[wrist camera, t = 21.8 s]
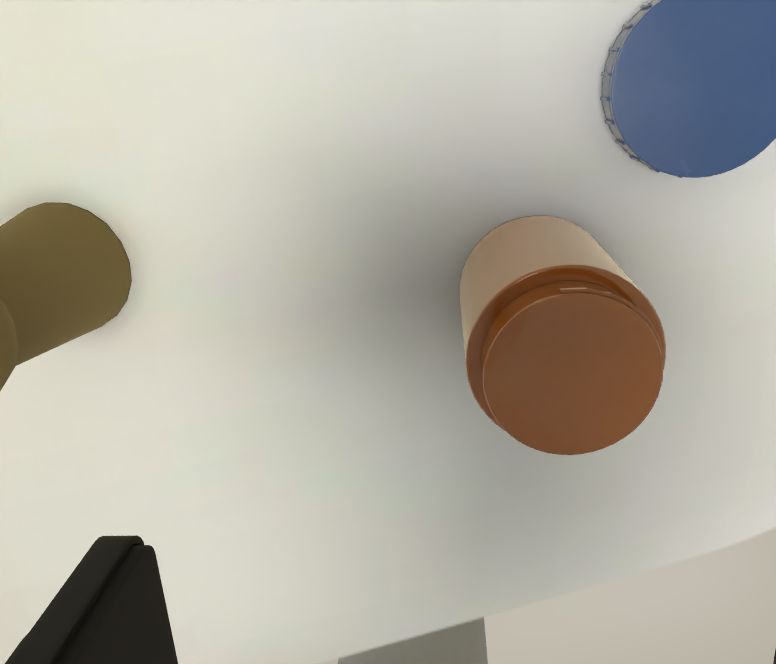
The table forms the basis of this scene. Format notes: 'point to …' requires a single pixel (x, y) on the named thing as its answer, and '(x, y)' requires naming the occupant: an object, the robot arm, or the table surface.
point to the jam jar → (558, 337)
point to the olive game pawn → (56, 280)
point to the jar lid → (694, 85)
